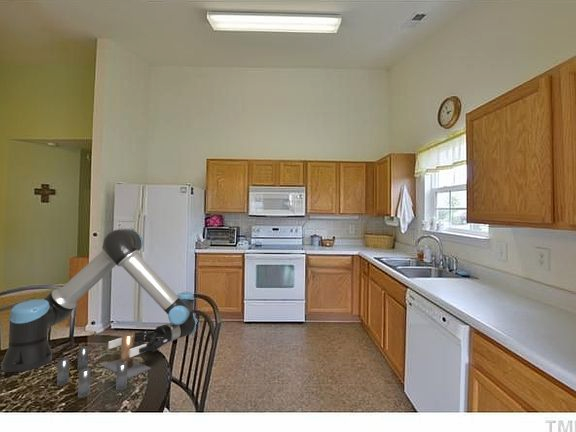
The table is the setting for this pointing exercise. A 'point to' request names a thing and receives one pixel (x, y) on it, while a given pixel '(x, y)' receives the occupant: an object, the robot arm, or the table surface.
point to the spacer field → (87, 373)
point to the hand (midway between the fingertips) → (118, 349)
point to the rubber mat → (131, 371)
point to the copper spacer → (127, 348)
